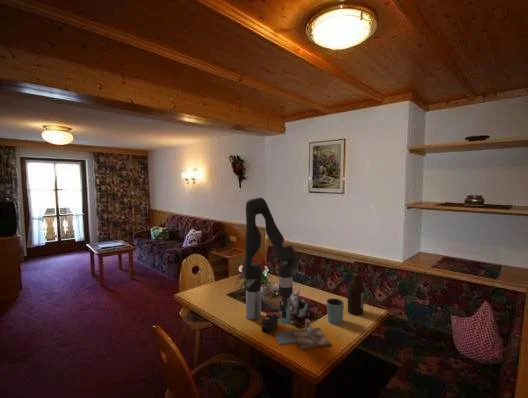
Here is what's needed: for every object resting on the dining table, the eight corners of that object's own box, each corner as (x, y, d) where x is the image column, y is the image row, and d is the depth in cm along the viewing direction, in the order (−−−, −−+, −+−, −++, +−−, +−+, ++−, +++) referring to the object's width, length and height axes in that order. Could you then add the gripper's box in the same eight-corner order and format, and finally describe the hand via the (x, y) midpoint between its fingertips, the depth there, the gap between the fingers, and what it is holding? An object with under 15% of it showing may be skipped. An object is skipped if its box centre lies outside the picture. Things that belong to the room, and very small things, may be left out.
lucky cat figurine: (309, 320, 169) (299, 302, 166) (291, 324, 174) (281, 306, 171) (311, 303, 183) (302, 286, 180) (294, 307, 188) (285, 290, 185)
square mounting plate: (291, 332, 156) (291, 318, 156) (318, 329, 160) (319, 315, 159) (301, 349, 141) (301, 334, 140) (330, 345, 144) (331, 330, 143)
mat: (274, 334, 154) (274, 333, 154) (291, 332, 156) (291, 331, 156) (278, 344, 145) (278, 343, 145) (297, 342, 147) (297, 341, 147)
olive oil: (345, 313, 178) (346, 275, 176) (348, 306, 188) (349, 270, 186) (362, 317, 173) (363, 277, 171) (365, 310, 183) (366, 272, 181)
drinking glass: (340, 327, 162) (341, 306, 161) (323, 322, 167) (324, 302, 166) (345, 319, 171) (345, 300, 170) (329, 315, 176) (329, 296, 175)
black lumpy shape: (272, 334, 154) (272, 322, 154) (260, 332, 157) (260, 320, 156) (278, 326, 163) (279, 314, 163) (267, 323, 166) (267, 312, 166)
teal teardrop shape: (276, 322, 149) (276, 303, 148) (279, 318, 153) (278, 299, 153) (292, 325, 146) (292, 305, 145) (294, 321, 151) (294, 301, 150)
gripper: (282, 278, 156) (282, 308, 157) (274, 288, 143) (274, 320, 144) (295, 280, 154) (295, 310, 155) (289, 290, 140) (289, 323, 142)
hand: (285, 315), depth 150 cm, fingers closed on teal teardrop shape, 4 cm apart
